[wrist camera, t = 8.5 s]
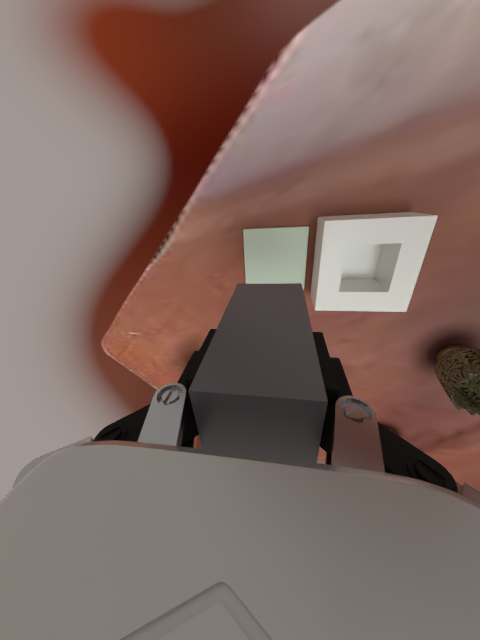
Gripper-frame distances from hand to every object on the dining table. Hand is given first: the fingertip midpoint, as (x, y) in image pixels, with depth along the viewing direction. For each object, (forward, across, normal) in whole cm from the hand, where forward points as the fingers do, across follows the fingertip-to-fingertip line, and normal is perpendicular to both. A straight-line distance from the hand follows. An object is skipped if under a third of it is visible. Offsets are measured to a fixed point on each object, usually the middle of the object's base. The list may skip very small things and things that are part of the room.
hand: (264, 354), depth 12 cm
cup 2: (+21, -25, +14) cm, 35 cm away
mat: (+21, 0, 0) cm, 21 cm away
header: (+21, -10, 0) cm, 23 cm away
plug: (+5, 0, 0) cm, 5 cm away
